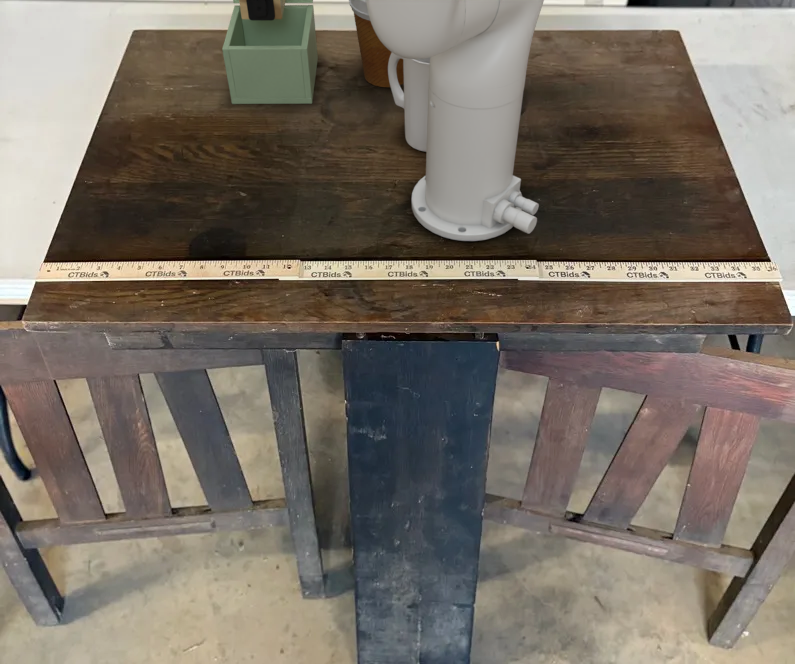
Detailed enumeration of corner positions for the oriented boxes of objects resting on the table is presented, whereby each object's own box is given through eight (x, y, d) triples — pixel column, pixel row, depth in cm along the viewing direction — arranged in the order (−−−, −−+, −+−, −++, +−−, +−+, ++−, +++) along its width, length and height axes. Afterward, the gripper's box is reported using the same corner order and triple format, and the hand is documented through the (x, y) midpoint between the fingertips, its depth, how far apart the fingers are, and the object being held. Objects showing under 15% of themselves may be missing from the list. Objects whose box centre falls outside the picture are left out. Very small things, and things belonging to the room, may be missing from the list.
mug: (468, 136, 100) (474, 46, 91) (434, 160, 97) (437, 70, 88) (406, 107, 105) (406, 19, 96) (372, 130, 101) (369, 41, 92)
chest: (312, 103, 105) (307, 48, 99) (231, 104, 105) (222, 49, 99) (317, 58, 113) (313, 4, 107) (242, 58, 113) (234, 5, 107)
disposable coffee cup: (348, 92, 107) (343, 5, 98) (356, 56, 113) (353, -29, 104) (419, 95, 106) (421, 8, 97) (423, 58, 113) (425, -27, 104)
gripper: (270, -125, 81) (288, 42, 95) (285, -179, 93) (299, -23, 106) (196, -125, 81) (225, 42, 95) (221, -179, 93) (243, -23, 106)
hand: (264, 6), depth 100 cm, fingers closed on block, 5 cm apart
